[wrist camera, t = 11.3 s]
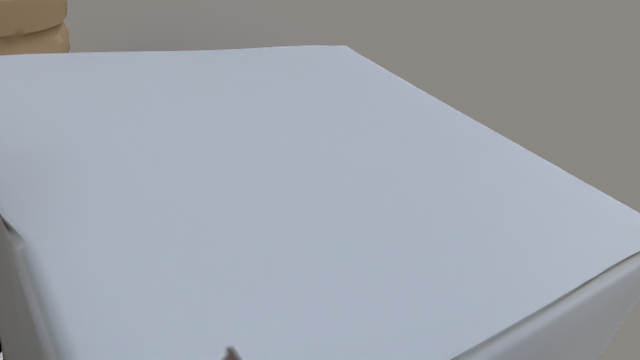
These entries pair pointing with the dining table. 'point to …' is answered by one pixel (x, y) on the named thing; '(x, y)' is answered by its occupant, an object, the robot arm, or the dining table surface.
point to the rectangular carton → (287, 217)
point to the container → (33, 27)
